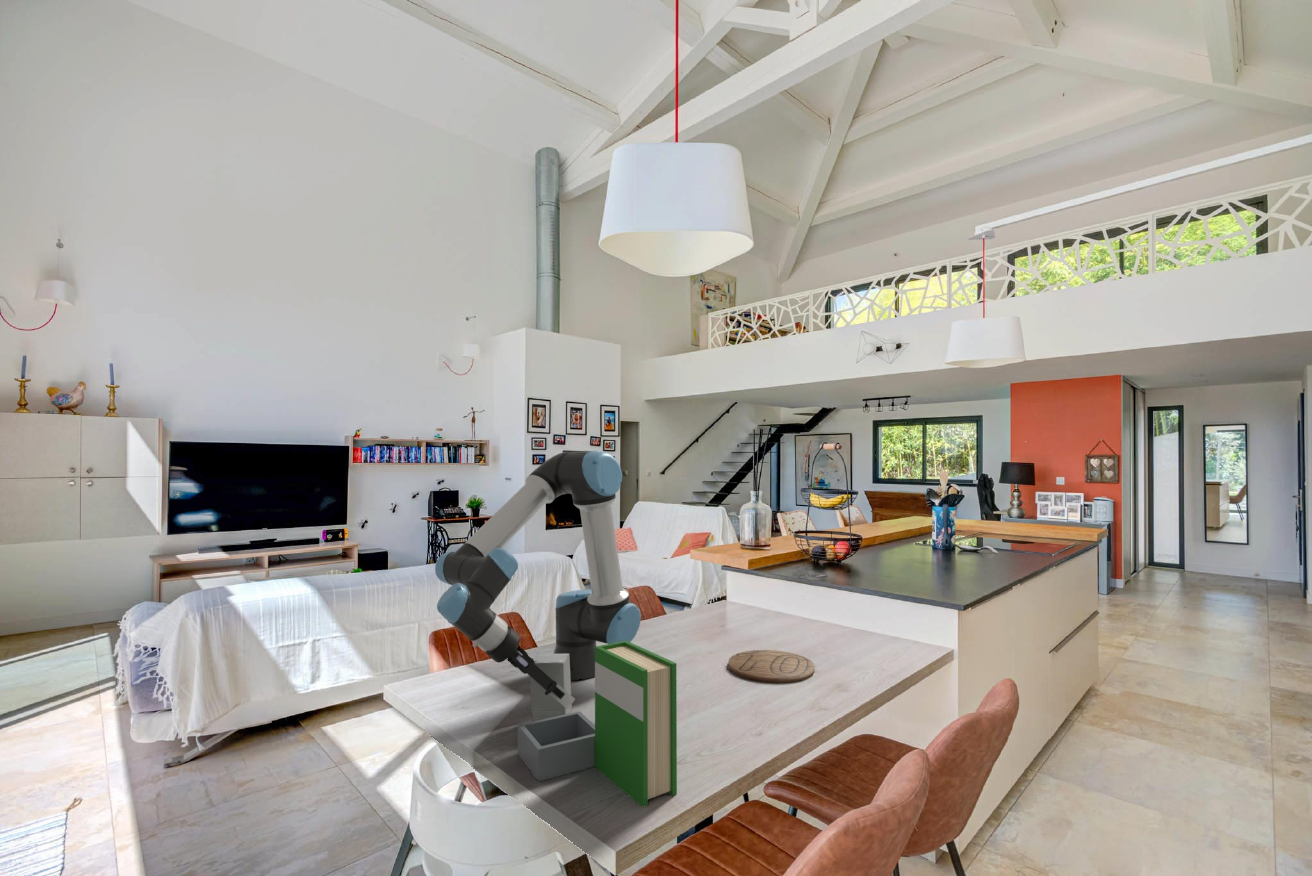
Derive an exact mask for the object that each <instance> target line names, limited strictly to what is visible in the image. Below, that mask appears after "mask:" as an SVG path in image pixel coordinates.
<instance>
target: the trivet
mask: <svg viewBox="0 0 1312 876" xmlns="http://www.w3.org/2000/svg"><path fill="white" fill-rule="evenodd" d="M727 666H728V667H729V668H728V669H729V671H730V672H731V673H732V672H733V673H732V674H734V675H735V674H736V675H735V676H737V677H739V676H740V677H739V678H742V679H745V680H748V681H752V682H759V683H764V684H791V683H799V682H803V681H806V680H808V679H810V678H812V677H813V675H814V674H815V672H816V671H815V663H814V662H813V661H812V660H811V659H809V658H807V657H805V656H804V655H800V654H798V653H794V652H789V651H783V650H774V649H754V650H747V651H746V650H745V651H742V652H738V653H736V654H733V655H731V657H729V658H728V665H727Z"/></svg>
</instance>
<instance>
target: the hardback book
mask: <svg viewBox="0 0 1312 876" xmlns="http://www.w3.org/2000/svg"><path fill="white" fill-rule="evenodd" d="M677 693H678V692H677V662H674V661H672V660H670V659H668V658H665V657H664V656H662V655H659V654H657V653H654V652H652V651H650V650H647V649H645V648H644V647H641V646H640V645H637V644H634V643H632V642H628V641H622V642H617V643H611V644H607V643H605V644H603V645H597V646H596V647H595V677H594V725H595V766H594V768H595V769H596V770H598V771H599V772H600V773H601V774H603V775H604V776H605V778H608V779H609V780H610V781H611V782H612V783H613V784H615V785H616V786H617V787H618V788H619V789H620V790H622V791H623V792H624V793H626V795H628V796H629V797H630V798H632V799H633V800H634V801H635V802H636V803H638V804H639V805H640V806H641V807H642V806H643V807H642V808H645V807H644V806H646V807H648V806H647V805H649V804H648V803H649V801H648V800H650V799H653V798H656V797H658V796H661V795H664V794H667V793H668V792H669V793H670V794H669V793H668V794H669V795H671V796H672V795H674V796H677V795H676V794H678V784H677V783H678V779H677V778H678V777H677V776H678V775H677V774H678V771H677V770H678V769H677V768H678V766H677V764H678V761H677V760H678V759H677V757H678V755H677V754H678V753H677V751H678V750H677V749H678V747H677V746H678V744H677V743H678V739H677V737H678V735H677V734H678V733H677V730H678V725H677V723H678V721H677V716H678V715H677V702H678V701H677Z"/></svg>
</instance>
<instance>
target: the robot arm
mask: <svg viewBox="0 0 1312 876" xmlns="http://www.w3.org/2000/svg"><path fill="white" fill-rule="evenodd" d="M622 481H623V473H622V468H621V466H620V464H619V462H618V460H617V459H616V458H615V457H614V456H613V455H612V454H610V453H608V452H605V451H596V450H590V451H589V450H584V451H563V452H560V453H558V454H555V455H553V456H551V457H550V458H548V459H547V460H545V461H544V462H542V463H541V464H540V465H539V466H538V467H537V468H535V469H534V470H533V471H532V472H531V473H530V474H529V475H528V476H527V477H526V479H525V484H524V485H523V486H522V487H521V488H520V489H519V490H518V491H517V492H516V493H514V494H513V496H512V497H510V499H509V500H507V502H506V503H504V505H502V506H501V507H500V508H499V509H498V510H497V511H496V512H495V513H494V514H493V515H492V516H491V517H490V518H489V519H488V520H487V521H486V522H484V524H483V525H482V526H481V527H480V528H479V529H478V530H477V531H476V532H474V533H473V535H472V536H470V537H469V538H468V539H467V541H466V542H464V543H463V544H462V545H461V546H460V547H459V548H458V549H457V550H456V551H448V552H445V553H443V554H442V555H440V556H439V557H438V559H437V560H436V562H435V567H434V570H435V575H436V577H437V579H438V580H439V581H440V582H443V583H445V584H448V585H450V587H449V588H448V589H447V590H446V591H444V592H443V593H442V595H441V596H440V597H439V600H438V602H437V604H436V610H437V612H438V613H439V614H440V615H441V616H442V617H443V618H444V619H445V620H446V621H447V623H449V624H451V625H452V626H453V627H454V628H455V629H456V630H458V631H460V633H462V634H463V635H464V636H465V637H467V638H468V639H469V640H470V641H472V642H473V643H472V648H479V649H481V651H483V652H485V654H486V655H487V656H488V657H490V658H491V659H492V660H493V661H494V662H496V663H502V662H504V661H506V660H507V661H508V662H509V663H510V664H511V665H512V667H514V668H517V669H518V670H519V671H520V672H521V673H523V674H524V675H526V674H527V675H528V676H529V677H530V676H531V677H532V678H533V679H534V680H535V681H536V682H537V683H539V684H540V685H541V686H542V687H543V688H544V689H545V690H546V692H545V693H544V694H545V695H548V694H550V695H551V696H552V697H554V698H555V699H556V700H557V701H558V702H559V703H561V704H562V705H563V706H564V707H565V708H566V709H568V708H569V707H570V705H571V704H573V703H574V701H576V698H575V697H574V696H572V694H571V695H570V694H569V693H568V692H567V691H566V690H564V689H563V688H562V687H561V686H560V685H559V684H558V683H557V682H555V681H553V680H552V679H551V678H550V677H549V676H548V675H546V674H545V673H544V672H543V671H542V670H541V669H540V668H538V667H537V666H536V665H535V661H534V660H533V659H534V657H531V656H529V654H528V652H527V651H526V650H525V649H523V648H522V647H521V646H520V641H521V636H520V634H519V633H518V632H517V631H516V630H515V629H514V628H512V627H511V626H510V625H508V622H507V621H505V620H504V619H503V618H502V617H500V616H499V615H498V614H497V613H496V612H494V611H493V610H492V609H491V606H492V605H493V604H494V602H495V601H496V600H497V598H498V597H499V596H500V594H501V593H502V592H503V590H504V589H505V587H506V586H507V585H508V584H509V582H511V581H512V578H513V577H514V575H515V573H516V572H517V570H518V567H519V563H518V560H517V559H516V558H515V556H514V555H513V554H512V553H511V552H509V551H508V550H506V549H504V547H505V546H506V544H507V543H508V542H509V541H511V539H513V537H514V536H515V535H516V534H517V533H518V532H520V530H521V529H522V528H523V527H524V526H525V525H526V524H527V523H528V522H529V521H530V520H531V519H532V517H534V516H535V515H536V514H537V512H539V510H540V509H542V507H544V505H546V504H551V503H553V501H555V500H556V499H557V498H558V497H560V496H562V495H567V494H568V495H569V494H570V495H571V497H572V502H573V505H574V506H575V507H576V508H577V509H579V512H580V518H581V526H582V533H583V539H584V547H585V548H584V549H585V555H586V561H587V568H588V576H589V583H590V589H581V590H580V589H579V590H573V591H572V590H571V591H566V592H562V593H560V594H559V595H557V598H556V600H555V601H556V602H555V608H554V609H555V647H554V650H553V653H552V654H569V657H570V679H571V681H580V680H579V679H582V680H587V678H588V679H591V678H595V647H596V646H598V645H597V642H599V643H603V644H611V643H617V642H622V641H628V642H630V643H632V641H633V639H635V637H636V635H637V633H638V631H639V628H640V625H641V618H642V616H641V611H640V608H639V607H638V606H637V605H636V604H635V603H633V602H631V601H630V593H629V591H628V590H627V589H626V588H625V587H623V581H622V576H621V575H622V574H621V568H620V567H621V566H620V560H619V553H618V546H617V538H616V531H615V530H616V529H615V523H614V516H613V508H612V504H613V503H614V501H615V500H616V498H617V497H616V493H618V492H619V490H620V488H621V484H622Z"/></svg>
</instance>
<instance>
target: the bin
mask: <svg viewBox="0 0 1312 876" xmlns="http://www.w3.org/2000/svg"><path fill="white" fill-rule="evenodd" d="M517 755H518V756H519V757H520V759H521V760H522V761H523V763H524V764H525V765H526V767H527V768H528V770H529V771H530V772H531V774H532V775H533V777H534V778H535V779H536V781H537V782H541V781H545V780H549V779H551V778H556V777H560V776H564V775H567V774H571V773H575V772H577V771H581V770H586V769H590V768H592V767H595V723H593V721H591V720H590V719H589V718H588V717H587V716H586V715H585V714H583V712H581V711H574V712H572V713H569V714H565V715H560V716H556V717H551V718H546V719H542V720H537V721H533V722H532V721H528V722H524V723H520V724H518V725H517Z"/></svg>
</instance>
